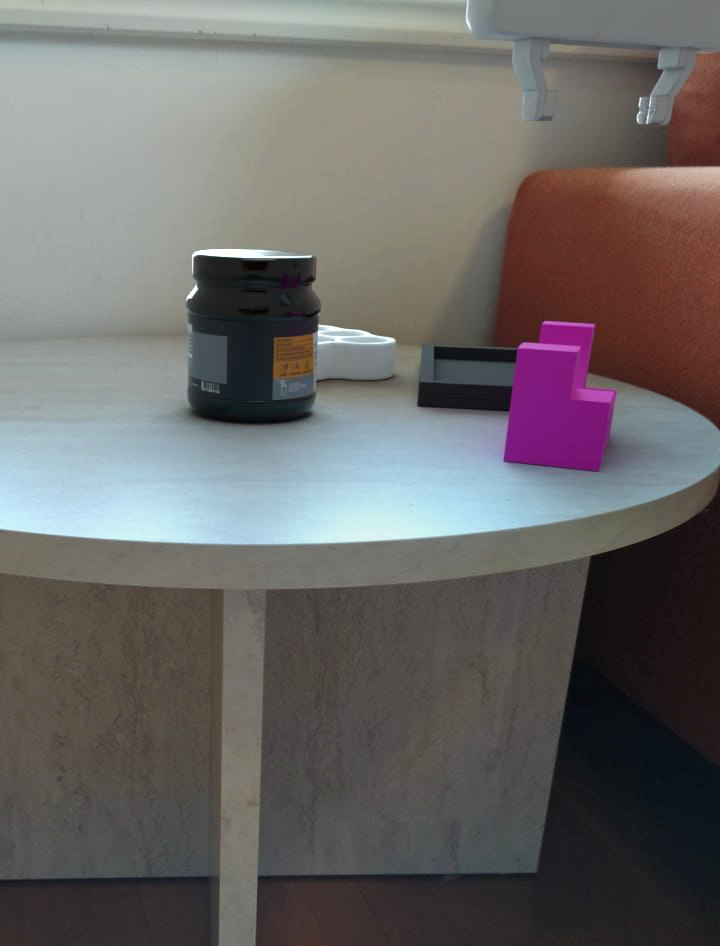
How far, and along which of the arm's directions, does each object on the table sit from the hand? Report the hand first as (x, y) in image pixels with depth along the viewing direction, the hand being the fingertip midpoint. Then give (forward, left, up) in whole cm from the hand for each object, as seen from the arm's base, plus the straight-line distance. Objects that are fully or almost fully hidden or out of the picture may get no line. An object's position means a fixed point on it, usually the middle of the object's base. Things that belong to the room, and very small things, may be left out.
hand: (596, 123), depth 70 cm
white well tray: (+22, -22, -21) cm, 38 cm away
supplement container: (+24, -1, -21) cm, 32 cm away
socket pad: (+5, -17, -21) cm, 27 cm away
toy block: (0, +4, -21) cm, 22 cm away
